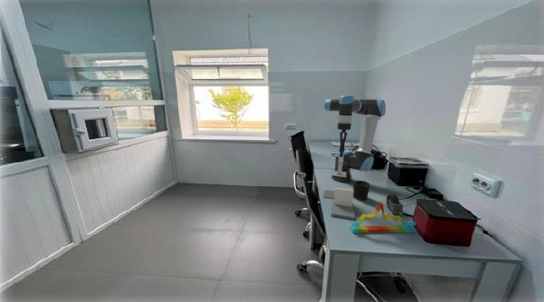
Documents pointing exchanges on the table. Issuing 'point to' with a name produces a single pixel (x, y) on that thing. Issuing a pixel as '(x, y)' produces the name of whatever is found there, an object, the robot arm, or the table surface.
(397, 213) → the caster wheel
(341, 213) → the slate board
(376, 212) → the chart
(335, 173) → the wooden post on base
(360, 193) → the pen holder
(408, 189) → the table surface
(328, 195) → the mat
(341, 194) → the tile
